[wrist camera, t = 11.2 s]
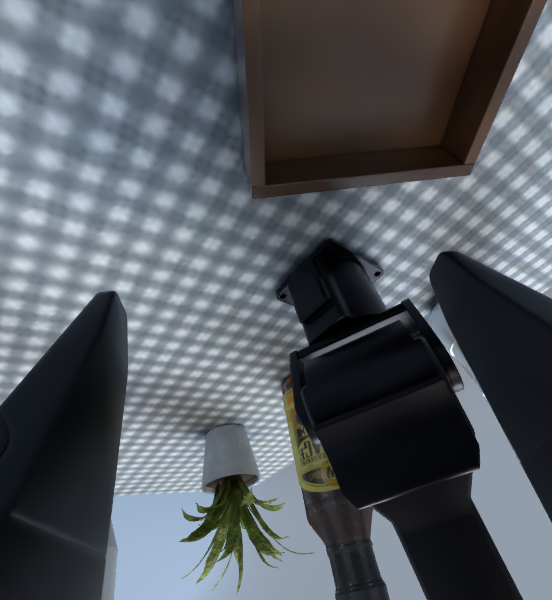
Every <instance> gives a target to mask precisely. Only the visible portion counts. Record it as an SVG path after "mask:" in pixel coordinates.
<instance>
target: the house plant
mask: <svg viewBox="0 0 552 600" xmlns="http://www.w3.org/2000/svg"><path fill="white" fill-rule="evenodd" d="M260 478H261V476H260V473H259V470H258V467H257V464H256V461H255V457H254V454H253V451H252V448H251V445H250V442H249V439H248V436H247V433H246V429H245V427H243V426H241V425H236V424H229V425H223V426H219V427H216V428H214V429H212V430H210V431H209V432H208V433H207V435H206V444H205V455H204V467H203V478H202V491H203V492H205V493H208V494H215V495H214V500H213V504H212V505H211V507H208V508H205V507H202V506H199V505H198V504H197V503H196V504H197V510H198V512H199V513H207V515H206V516H204V517H194V516H190V515H188V514H186V513H185V512H184V511H183V509H182V511H183V515H184V518H185V519H186V520H188V521H199V520H203V518H205V520H204V522H203V524H202V525H201V526H200V527H199V528H198V529H196V530H195V531H194V532H192V533H191V534H190V535H189V537H188V538H185V539H182V540H181V541H180V542H192V541H197V540H199V539H201V538H203V537H205V536H206V535H207V534H208V533H210V531H212V530H214V529H216V528H217V527H218V529H217V531H216V534H215V536H214V538H213V540H212V543H211V545H210V547H209V548H208V551H209V550H210V548H211V547H212V545H213V543H214V545H213V547H212V550H211V552H210V554H209V556H208V558H207V560H206V563H205V568H204V572H203V573H202V575H201V576H200V578H199V579H198V581H197V583H198V582H199V581H201V580H202V579H203V578H204V577H206V576H207V574H208V573H209V572H210V570H211V569H212V568H213V566H214V564H215V562H218V561H220V560H222V559H224V558H225V557H227V556H228V555H229V554H230V553H231V556H232V552H233V551H234V555H235V557H236V560H237V562H238V564H239V582H238V590H239V588H240V585H241V580H242V572H243V544H242V533H241V527H240V523H241V526H242V528H243V529H246V530H247V533H248V535H249V539H250V540H251V542H252V543H253V544H254V546H255V547H256V550H257V552H258V554H259V556H260V557H261V559H262V560H263V562H264V563H266V564H267V565H268V566H270V567H273V566H271V565H269V564H268V563H267V562H266V561H265V559H264V558H263V556H262V554H261V552H262V553H264V554H266V555H271V556H272V557H273V558H275V559H278V560H280V559H279V558H278V557H276V556H275V555H278V554H279V555H281V553H280V552H279V551H277V550H276V549H275V548H274V547H273V546H272V544H271V543H270V541H269V540H268V539H267V538H266V537H265V536H264V535H263V533H262V532H261V531H260V530H259V528H258V526H257V524H256V522H255V521H254V519H253V517H252V515H251V513H250V511H249V509H250V508H249V509H248V507H249V506H248V505H250V507H251V509H252V510H251V509H250V510H251V512H252V511H253V512H252V513H253V514H254V516H255V517H256V519H257V520H258V521H259V523H260V525H261V526H262V527H263V529H264V530H265V531H266V532H267V533H268V534H269V535H270V536H271V537H273V538H275V539H284V538H286V537H284V538H281V537H279V536H278V535H276V534H275V533H274V532H273V531H272V530H271V529H270V528H269V527H268V526H267V525H266V523H265V522H264V521H263V519H262V518H261V516H260V514H259V513H258V511H257V509H256V507H255V506H254V504H253V503H255V504H257V505H260V506H261V507H263V508H264V509H267V510H270V511H277V510H279V509H281V508H282V507H283V505H284V503H283V504H280V505H273V506H271V505H268V504H263V503H269V502H272V501H275V500H276V499H277V498H276V499H273V500H269V501H261V500H258V499H256V498H255V497H254V495H253V493H252V489H251V490H249V489H248V487H250V486H252V485H254V484H256V483H257V482H258V481H259V480H260ZM243 494H244V495H243ZM244 496H245V498H244ZM270 504H271V503H270ZM247 506H248V507H247ZM221 514H222V515H221ZM220 516H221V517H220ZM219 518H220V519H219ZM218 519H219V520H218ZM227 528H228V530H227ZM226 535H227V537H226ZM225 539H226V544H225V547H224V549H226V550H225V552H224V553H223V555H222V556H221V558H220V559H219V560H218V561H216V560H217V558H218V556H219V553H220V552H222V551H223V550H224V549H223V550H222V547H223V545H224V542H225ZM214 541H215V542H214ZM278 544H279V543H278ZM280 545H281V544H280ZM283 548H285V547H283ZM286 550H288V549H286ZM208 551H207V552H206V554H207V553H208ZM260 551H261V552H260ZM289 551H290V550H289ZM290 552H292V551H290ZM293 553H296V552H293ZM206 554H205V555H204V557H205V556H206ZM297 554H308V553H297ZM309 554H311V553H309ZM204 557H203V558H204ZM230 559H231V557H230ZM230 559H229V562H230ZM202 560H203V559H202ZM202 560H201V561H202ZM280 561H282V560H280ZM229 562H228V565H229ZM200 563H201V562H200ZM200 563H199V564H200ZM199 564H198V565H199ZM198 565H197V566H198ZM228 565H227V567H228ZM197 566H196V567H197ZM196 567H195V568H196ZM227 567H226V569H227ZM195 568H194V569H195ZM273 568H276V567H273ZM194 569H193V570H194ZM226 569H225V571H226ZM193 570H192V571H193ZM225 571H224V573H225ZM190 573H191V572H190ZM190 573H189V574H190ZM224 573H223V574H222V576H223V575H224ZM189 574H188V575H189ZM186 576H187V575H186ZM186 576H185V577H186ZM222 576H221V578H222ZM221 578H220V579H219V581H220V580H221ZM182 579H183V578H182ZM219 581H218V582H219ZM218 582H217V583H218ZM216 585H217V584H216ZM216 585H215V586H216ZM237 592H238V591H237Z"/></svg>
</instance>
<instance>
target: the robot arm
mask: <svg viewBox="0 0 552 600" xmlns="http://www.w3.org/2000/svg"><path fill="white" fill-rule="evenodd" d="M329 245H331V246H330V247H328V246H329ZM383 273H384V272H383V269H382V268H381V267H380V266H379V265H377V264H375V263H374V262H372V261H370V260H369V259H367V258H365V257H364V256H362V255H360V254H359V253H357V252H355V251H353V250H352V249H350V248H348V247H347V246H345V245H343V244H342V243H340V242H338V241H336V240H335V239H332V238H329V239H326V240H325V241H324V242H323V243H322V244H321V245H320V246H319V247H318V248H317V249H316V250H315V251H314V253H313V254H312V255H311V256H310V257H309V258H308V259H307V260H306V261H305V262H304V263H303V264H302V265H301V266H300V267H299V268H298V269H297V270H296V271H295V272H294V274H293V275H292V276H291V277H290V278H289V279H288V280H287V281H286V282H285V283H284V284H283V285H282V286H281V287H280V288H279V289H278V290H277V292H276V296H277V299H278V300H280V301H283V302H285V303H288V304H290V305H293V306H294V307H295V310H296V313H297V316H298V319H299V322H300V323H302V325H303V328H304V331H305V334H306V337H307V340H308V343H309V346H308V347H306V348H303V349H301V350H299V351H297V350H296V351H294V352H292V353H290V363H291V364H290V372H291V381H292V390H293V398H294V407H295V411H296V413H295V418H296V421H297V423H298V424H299V425H301V426H303V427H304V428H305V430H306V432H307V433H308V435H309V437H310V438H311V440H312V441H313V442H314V443H315V444H316V445H318V446H320V445H322V447H323V449H324V451H325V453H326V455H327V457H328V460H329V462H330V464H331V467H332V469H333V472H334V474H335V477H336V480H337V482H338V485H339V487H340V490H341V492H342V494H343V495H344V496H345V497H346V498H347V499H348V500H349V501H350V502H351V503H352V504H353V505H354V506H355V507H356V508H357V509H359V510H360V509H363V508H366V507H369V506H371V507H372V508H373V509H375V510H376V511H377V512H379V513H380V514H381V515H382V516H384V517H386V518H387V519H388V520H389V521H390V522H391V523H392V524H393V526H394V528H395V530H396V532H397V534H398V537H399V539H400V541H401V543H402V545H403V548H404V550H405V552H406V554H407V556H408V558H409V561H410V563H411V565H412V568H413V570H414V572H415V574H416V576H417V578H418V581H419V583H420V585H421V587H422V590H423V592H424V594H425V596H426V599H427V600H523V598H522V596H521V595H520V593H519V591H518V589H517V587H516V585H515V583H514V581H513V579H512V577H511V575H510V573H509V571H508V569H507V567H506V565H505V563H504V561H503V560H502V558H501V556H500V554H499V552H498V550H497V548H496V546H495V544H494V542H493V540H492V538H491V536H490V534H489V532H488V530H487V528H486V526H485V524H484V523H483V521H482V519H481V517H480V515H479V513H478V511H477V509H476V507H475V505H474V503H473V501H472V499H471V486H472V473H473V471H476V470H478V469H479V468H480V449H479V444H478V442H477V440H476V438H475V432H474V429H473V427H472V425H471V423H470V421H469V419H468V417H467V415H466V413H465V411H464V410H463V408H462V406H461V404H460V402H459V400H458V398H457V396H456V394H455V392H458V391H460V390H463V389H464V385H463V382H462V379H461V376H460V374H459V372H458V370H457V368H456V366H455V364H454V362H453V360H452V359H451V357H450V355H449V353H448V352H447V350H446V348H445V347H444V345H443V344H442V342H441V340H440V339H439V338H438V336H437V335H436V334H435V332H434V331H433V330H432V328H431V327H430V326H429V324H428V323H427V322H426V320H425V319H424V318H423V317H422V315H421V314H420V313H419V311H418V310H417V309H416V307H415V306H414V305H413V303H412V302H411V301H410V299H409V298H408V299H406V300H404V301H402V302H401V304H398V305H396V306H394V307H392V308H390V309H388V310H387V308H386V306H385V305H384V303H383V301H382V299H381V298H380V296H379V294H378V292H377V290H376V289H375V287H374V285H373V283H374V282H375V281H376V280H377V279H378V278H380V277H381V276H382V275H383ZM429 278H430V282H431V285H432V287H433V290H434V292H435V295H436V297H437V300H438V302H439V305H440V307H441V310H442V312H443V315H444V317H445V320H446V322H447V324H448V326H449V328H450V330H451V332H452V334H453V336H454V338H455V340H456V342H457V344H458V345H459V347H460V349H461V351H462V353H463V355H464V357H465V359H466V361H467V363H468V364H469V366H470V368H471V370H472V372H473V374H474V376H475V378H476V380H477V381H478V383H479V385H480V387H481V389H482V391H483V393H484V395H485V397H486V398H487V400H488V402H489V404H490V406H491V408H492V410H493V412H494V414H495V416H496V417H497V419H498V421H499V423H500V425H501V427H502V429H503V431H504V433H505V434H506V436H507V438H508V440H509V442H510V444H511V446H512V448H513V450H514V452H515V453H516V455H517V457H518V459H519V460H520V463H521V465H522V467H523V469H524V471H525V473H526V474H527V477H528V478H529V480H530V482H531V484H532V486H533V488H534V490H535V492H536V494H537V495H538V497H539V499H540V501H541V503H542V505H543V507H544V509H545V511H546V512H547V514H548V516H549V518H550V520H551V522H552V299H551V298H549V297H547V296H545V295H543V294H541V293H539V292H537V291H535V290H533V289H531V288H529V287H527V286H525V285H523V284H521V283H519V282H517V281H515V280H513V279H511V278H509V277H507V276H505V275H503V274H501V273H499V272H497V271H495V270H493V269H491V268H489V267H487V266H485V265H483V264H481V263H479V262H477V261H475V260H473V259H471V258H469V257H467V256H465V255H463V254H461V253H459V252H457V251H445V252H441V253H440V254H439V255H438V256H437V259H436V261H435V263H434V265H433V267H432V269H431V271H430V275H429ZM282 294H283V295H282ZM127 375H128V340H127V315H126V312H125V309H124V307H123V305H122V303H121V300H120V298H119V296H118V294H117V293H116V292H115V291H107V292H100V293H98V294H96V295H95V296H94V298H93V299H92V300H91V301H90V302H89V303H88V305H87V306H86V307H85V308H84V309H83V310H82V312H81V313H80V314H79V315H78V316H77V317H76V319H75V320H74V321H73V322H72V323H71V324H70V325H69V327H68V328H67V329H66V330H65V331H64V332H63V334H62V335H61V336H60V337H59V338H58V339H57V341H56V342H55V343H54V344H53V345H52V346H51V348H50V349H49V350H48V351H47V352H46V353H45V355H44V356H43V357H42V358H41V359H40V360H39V362H38V363H37V364H36V365H35V366H34V367H33V368H32V370H31V371H30V372H29V373H28V374H27V375H26V377H25V378H24V379H23V380H22V381H21V382H20V384H19V385H18V386H17V387H16V388H15V389H14V391H13V392H12V393H11V394H10V395H9V396H8V398H7V399H6V400H5V401H4V402H3V403H2V405H1V406H0V600H101V599H102V591H103V582H104V574H105V565H106V557H105V556H106V555H107V547H108V538H109V530H110V521H111V512H112V504H113V496H114V487H115V479H116V470H117V462H118V453H119V445H120V436H121V428H122V419H123V411H124V402H125V394H126V385H127Z"/></svg>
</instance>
